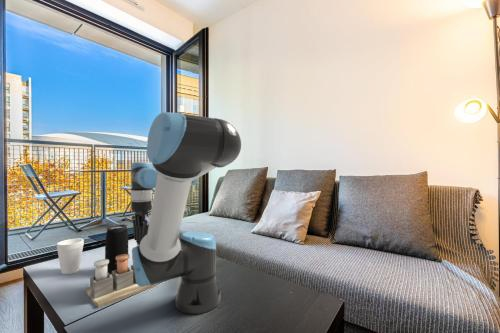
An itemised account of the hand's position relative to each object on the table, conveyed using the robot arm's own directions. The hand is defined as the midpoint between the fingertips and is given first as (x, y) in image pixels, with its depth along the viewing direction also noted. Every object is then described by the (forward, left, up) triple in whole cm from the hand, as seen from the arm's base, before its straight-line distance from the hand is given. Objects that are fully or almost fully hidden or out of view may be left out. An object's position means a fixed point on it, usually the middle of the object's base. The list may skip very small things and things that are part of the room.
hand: (141, 259), depth 94 cm
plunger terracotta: (0, +7, -4) cm, 8 cm away
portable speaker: (+19, +3, -9) cm, 21 cm away
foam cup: (+33, +17, -9) cm, 38 cm away
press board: (0, +7, -9) cm, 11 cm away
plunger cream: (0, +14, -4) cm, 14 cm away
